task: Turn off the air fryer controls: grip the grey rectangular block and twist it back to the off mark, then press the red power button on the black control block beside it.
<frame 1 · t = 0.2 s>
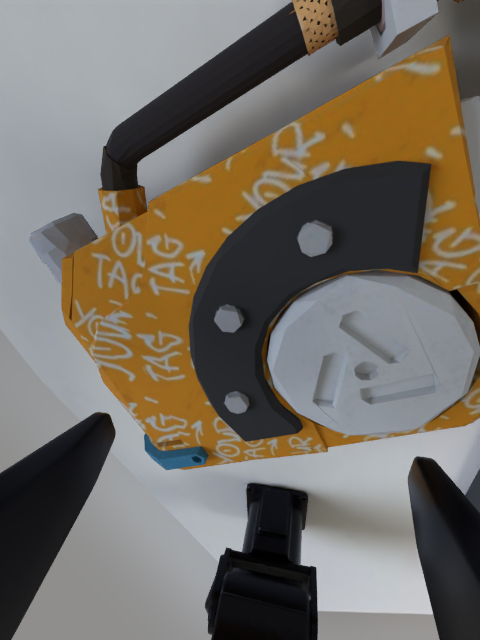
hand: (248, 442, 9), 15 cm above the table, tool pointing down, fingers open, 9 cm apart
device: (284, 251, 21), on the table
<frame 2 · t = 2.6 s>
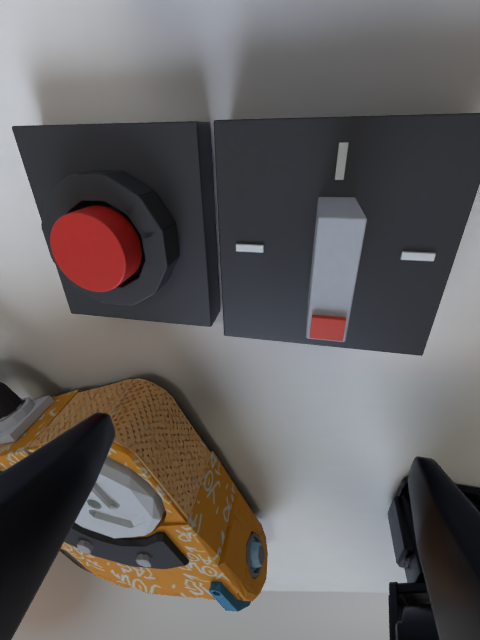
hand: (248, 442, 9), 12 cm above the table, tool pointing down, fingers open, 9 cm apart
dial panel: (328, 234, 18), on the table
device: (124, 447, 33), on the table
button block: (139, 227, 20), on the table
power button: (97, 249, 16), point 4 cm above the table, slide at 0.1 cm
grey rectangular block: (331, 267, 14), point 5 cm above the table, hinge at 90.0°
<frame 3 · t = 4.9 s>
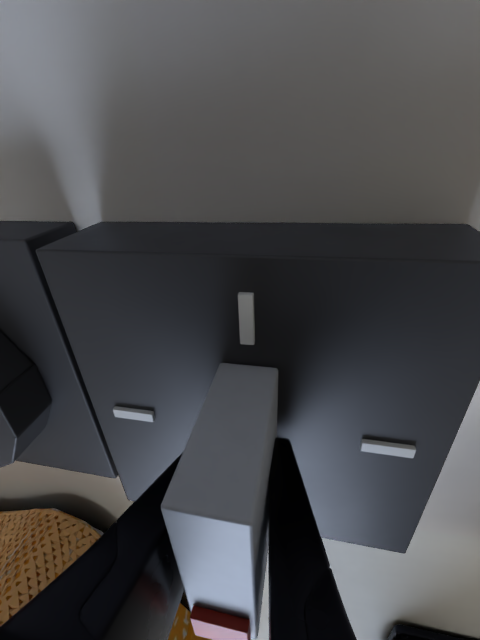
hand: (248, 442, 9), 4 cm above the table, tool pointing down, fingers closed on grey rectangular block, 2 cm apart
dial panel: (264, 367, 12), on the table
device: (61, 555, 27), on the table
button block: (14, 343, 15), on the table
grey rectangular block: (236, 495, 8), point 5 cm above the table, hinge at 90.0°, touching gripper
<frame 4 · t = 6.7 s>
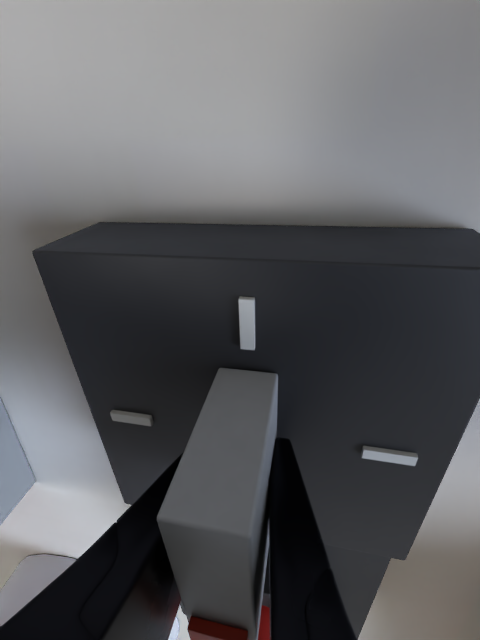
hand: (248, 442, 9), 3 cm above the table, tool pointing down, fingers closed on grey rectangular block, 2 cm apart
dial panel: (264, 370, 12), on the table
button block: (263, 531, 18), on the table
power button: (249, 638, 14), point 4 cm above the table, slide at 0.1 cm
canister: (99, 597, 30), on the table
grey rectangular block: (235, 503, 8), point 5 cm above the table, hinge at 0.5°, touching gripper
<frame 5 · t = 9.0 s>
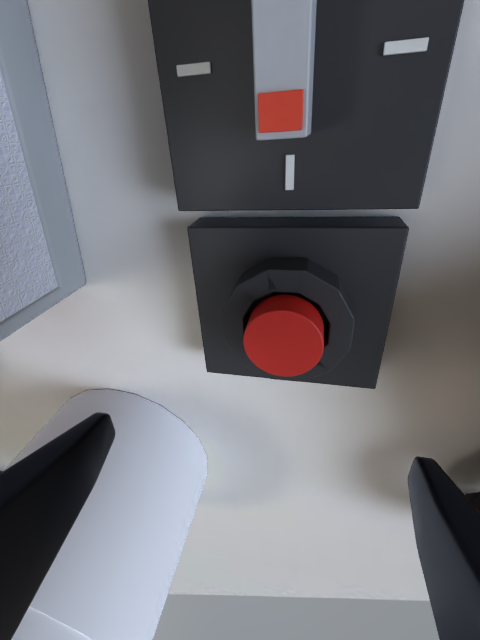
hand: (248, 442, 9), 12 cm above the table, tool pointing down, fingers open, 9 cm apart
dial panel: (297, 70, 15), on the table
button block: (291, 297, 20), on the table
power button: (284, 336, 17), point 4 cm above the table, slide at 0.1 cm
canister: (134, 446, 33), on the table
grey rectangular block: (287, 47, 10), point 5 cm above the table, hinge at 0.5°
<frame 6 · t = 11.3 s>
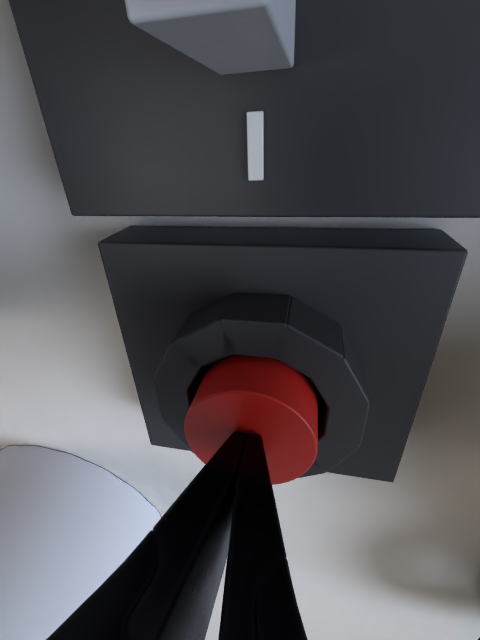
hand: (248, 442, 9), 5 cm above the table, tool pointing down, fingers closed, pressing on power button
button block: (270, 344, 14), on the table
power button: (252, 420, 10), point 4 cm above the table, slide at 0.0 cm, touching gripper
canister: (78, 510, 26), on the table
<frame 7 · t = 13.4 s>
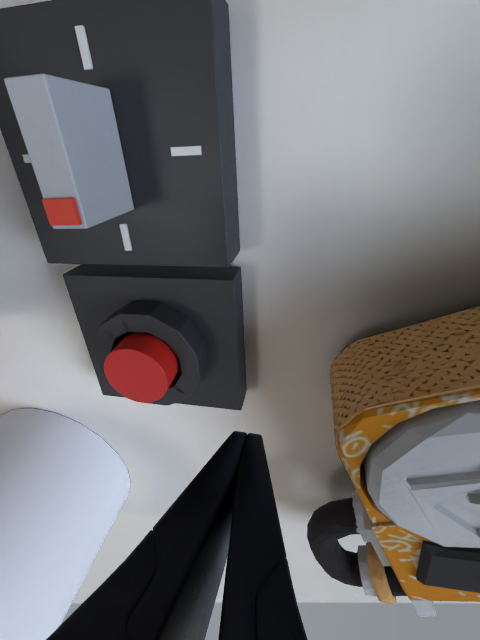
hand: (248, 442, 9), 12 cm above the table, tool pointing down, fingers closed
dial panel: (138, 152, 18), on the table
button block: (169, 330, 23), on the table
power button: (141, 368, 20), point 4 cm above the table, slide at 0.1 cm
canister: (63, 460, 35), on the table
grey rectangular block: (80, 157, 13), point 5 cm above the table, hinge at 0.5°
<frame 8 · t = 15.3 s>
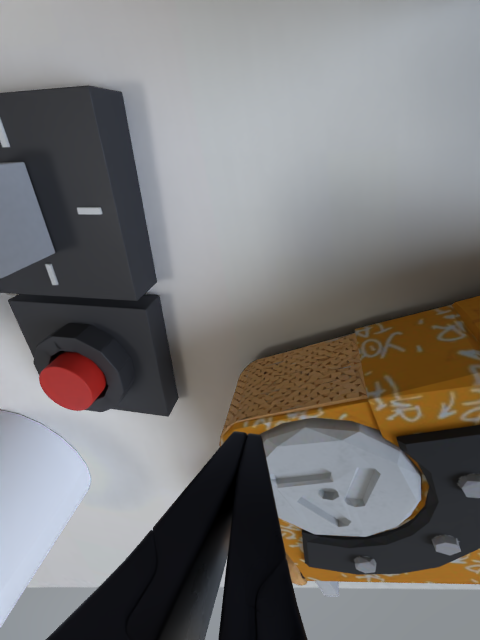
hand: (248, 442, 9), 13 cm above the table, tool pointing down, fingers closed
dial panel: (64, 200, 21), on the table
device: (382, 430, 25), on the table
button block: (108, 345, 27), on the table
power button: (73, 381, 23), point 4 cm above the table, slide at 0.1 cm
canister: (30, 456, 39), on the table
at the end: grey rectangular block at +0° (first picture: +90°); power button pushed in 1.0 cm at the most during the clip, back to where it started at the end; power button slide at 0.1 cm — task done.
